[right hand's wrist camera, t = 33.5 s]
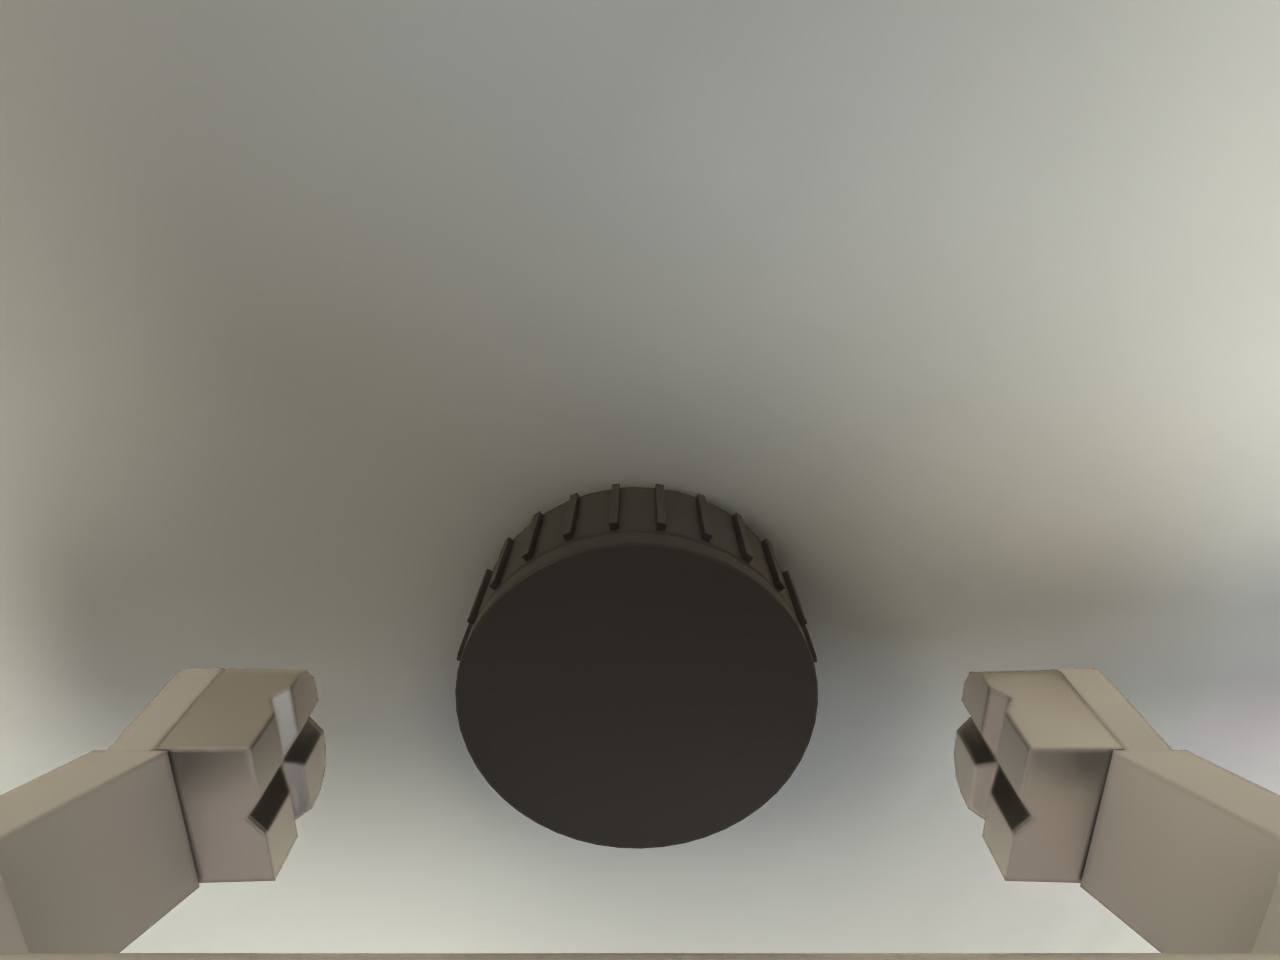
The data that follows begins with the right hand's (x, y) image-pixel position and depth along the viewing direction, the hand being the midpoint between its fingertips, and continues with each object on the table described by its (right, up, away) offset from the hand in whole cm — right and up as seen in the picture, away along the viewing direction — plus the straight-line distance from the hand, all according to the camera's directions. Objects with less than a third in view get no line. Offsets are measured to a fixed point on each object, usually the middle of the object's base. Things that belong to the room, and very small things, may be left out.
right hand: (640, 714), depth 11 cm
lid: (0, 0, +1) cm, 0 cm away
